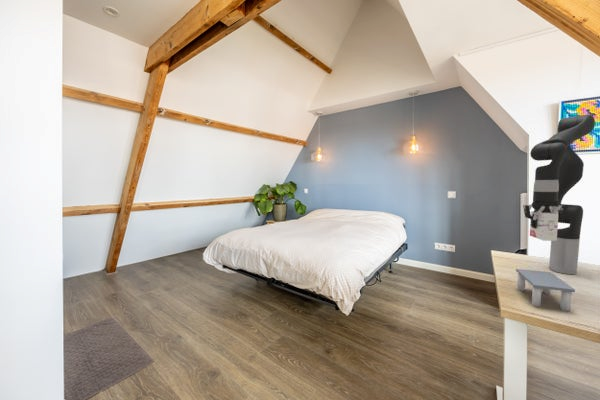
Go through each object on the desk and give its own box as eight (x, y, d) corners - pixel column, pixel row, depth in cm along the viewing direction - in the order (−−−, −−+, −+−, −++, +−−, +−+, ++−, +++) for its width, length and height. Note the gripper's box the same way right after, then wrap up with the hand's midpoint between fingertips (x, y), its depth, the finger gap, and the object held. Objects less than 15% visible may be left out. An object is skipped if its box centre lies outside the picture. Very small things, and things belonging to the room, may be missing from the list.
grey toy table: (515, 287, 103) (516, 268, 102) (548, 291, 99) (550, 272, 98) (532, 306, 89) (534, 284, 88) (573, 312, 84) (575, 289, 83)
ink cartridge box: (528, 235, 109) (530, 204, 107) (541, 235, 108) (543, 204, 106) (543, 240, 101) (545, 206, 99) (557, 241, 100) (560, 206, 98)
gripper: (563, 189, 102) (560, 227, 104) (520, 189, 108) (518, 225, 110) (574, 190, 96) (571, 231, 98) (528, 191, 102) (525, 229, 103)
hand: (543, 228), depth 104 cm, fingers closed on ink cartridge box, 5 cm apart
